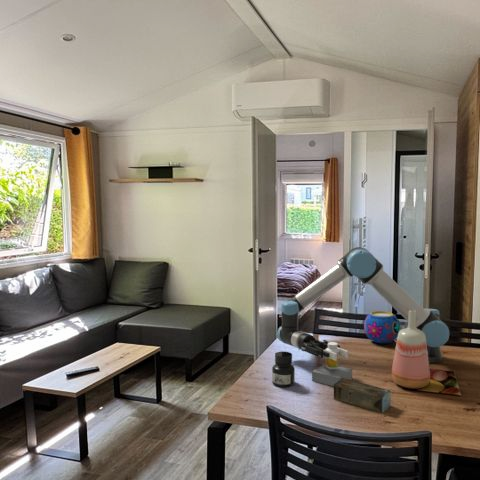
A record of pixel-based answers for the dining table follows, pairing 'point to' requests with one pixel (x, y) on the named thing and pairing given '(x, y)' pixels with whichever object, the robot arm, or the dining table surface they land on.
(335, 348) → the supplement bottle
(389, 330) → the ceramic pot
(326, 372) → the base block
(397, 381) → the vase
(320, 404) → the dining table surface
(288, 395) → the dining table surface
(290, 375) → the ink bottle
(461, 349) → the dining table surface
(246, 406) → the dining table surface
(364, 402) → the beverage carton
